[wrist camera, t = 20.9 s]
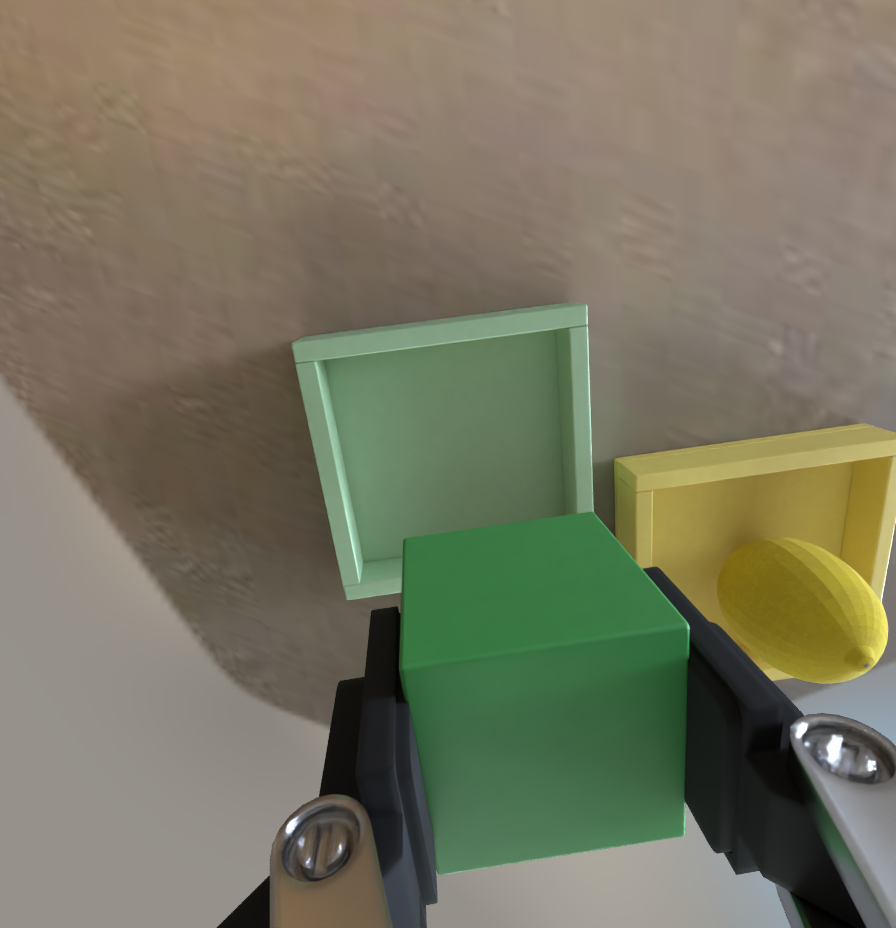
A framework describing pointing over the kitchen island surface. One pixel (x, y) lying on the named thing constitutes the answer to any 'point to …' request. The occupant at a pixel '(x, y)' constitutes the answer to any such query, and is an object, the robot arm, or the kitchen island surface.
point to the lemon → (802, 610)
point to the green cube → (542, 692)
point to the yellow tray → (759, 506)
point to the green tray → (446, 430)
